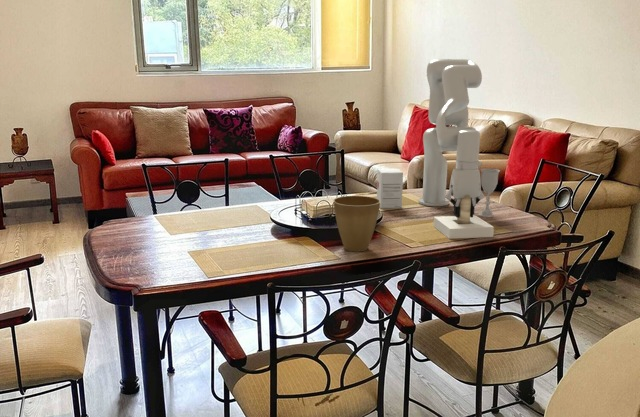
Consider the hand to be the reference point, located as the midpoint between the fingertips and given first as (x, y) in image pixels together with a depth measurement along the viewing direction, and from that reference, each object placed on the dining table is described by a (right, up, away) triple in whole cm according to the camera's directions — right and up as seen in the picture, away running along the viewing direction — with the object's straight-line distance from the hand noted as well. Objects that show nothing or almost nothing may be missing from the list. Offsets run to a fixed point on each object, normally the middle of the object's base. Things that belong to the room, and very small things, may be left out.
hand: (463, 216), depth 222 cm
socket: (0, -5, +2) cm, 6 cm away
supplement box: (-22, +4, +37) cm, 44 cm away
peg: (0, -4, +1) cm, 4 cm away
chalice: (+14, 0, +24) cm, 28 cm away
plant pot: (-39, -10, -19) cm, 45 cm away
